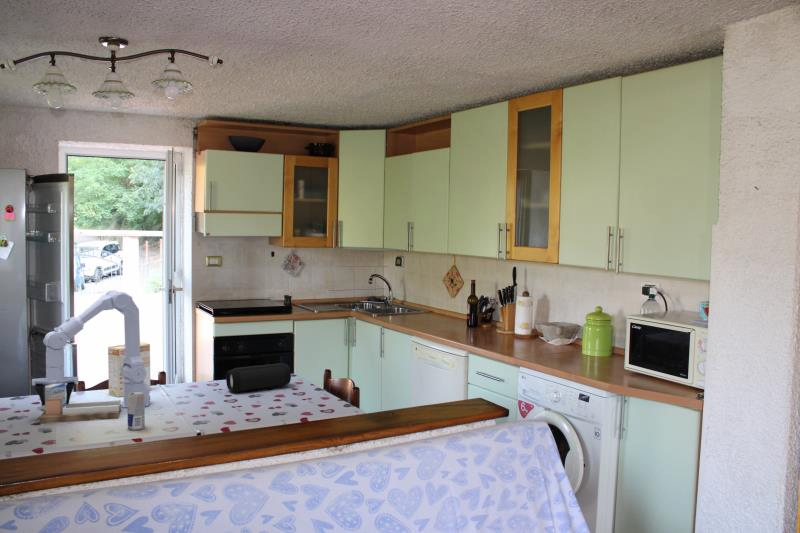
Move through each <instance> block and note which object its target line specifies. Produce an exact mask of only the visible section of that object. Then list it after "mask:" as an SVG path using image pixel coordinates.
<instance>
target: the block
mask: <svg viewBox="0 0 800 533" xmlns="http://www.w3.org/2000/svg"><path fill="white" fill-rule="evenodd" d="M62 408H63V407H62V398H51V399H47V401H46V415H47V414H60V413H61V412H62Z"/></svg>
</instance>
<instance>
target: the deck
mask: <svg viewBox="0 0 800 533" xmlns="http://www.w3.org/2000/svg"><path fill="white" fill-rule="evenodd" d="M63 408H64V407H62V412H61V413H60V414H47V415H46V409H45V410H43V412H42V413H41V414H40V415H39V417H38V424H49V423H51V424H52V423H53V422H54V423H65V422H66V421H69V422H81V421H96V420H95V419H101V420H112V419H113V420H114V419H119V417H120V414H121V411H122V403H120V406H119V411H115V412H99V413H83V414H67V415H63ZM66 423H67V422H66Z"/></svg>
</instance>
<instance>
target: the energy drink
mask: <svg viewBox="0 0 800 533" xmlns="http://www.w3.org/2000/svg"><path fill="white" fill-rule="evenodd" d="M127 403H128V407H127V429H128V430H129V431H139V430H143V429H144V428H145V420H146V419H145V418H146V417H145V416H146V415H145V410H146V406H145V395H144V392H142V391H134V392H129V393H128V396H127Z"/></svg>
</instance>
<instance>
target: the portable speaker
mask: <svg viewBox="0 0 800 533" xmlns="http://www.w3.org/2000/svg"><path fill="white" fill-rule="evenodd" d="M291 379H292V373H291V368H290V366H289V365H288V364H285V363H272V364H271V363H269V364H261V365H252V366H244V367H243V366H242V367H234V368H232V369H230V370H228V371H227V373H226V377H225V382H226V387H227V390H228V391H229V392H232V393H233V392H234V393H246V392H252V391H260V390H269V389H276V388H282V387H283V388H284V387H286V386H287V385H288V384H290V382H291V381H292V380H291Z"/></svg>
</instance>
